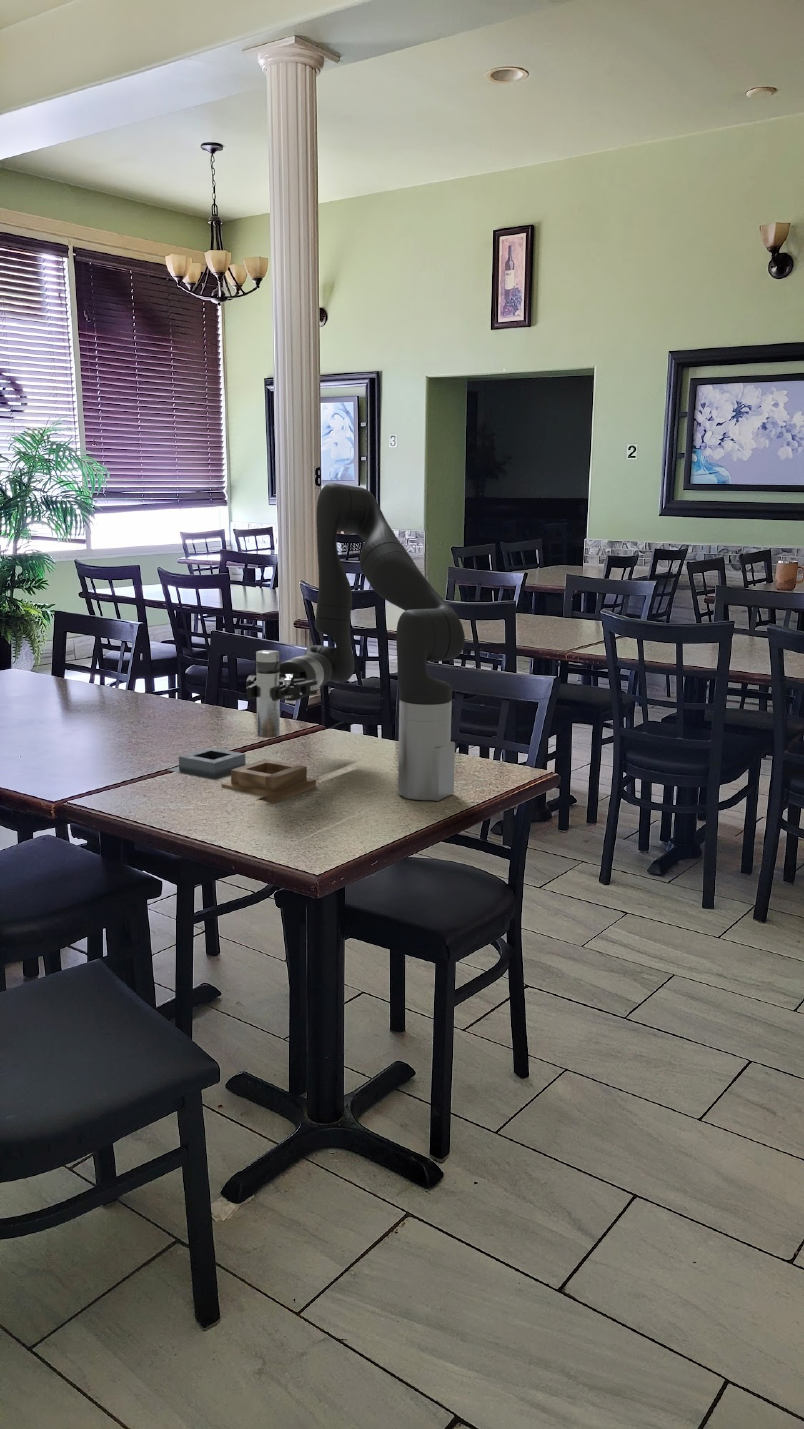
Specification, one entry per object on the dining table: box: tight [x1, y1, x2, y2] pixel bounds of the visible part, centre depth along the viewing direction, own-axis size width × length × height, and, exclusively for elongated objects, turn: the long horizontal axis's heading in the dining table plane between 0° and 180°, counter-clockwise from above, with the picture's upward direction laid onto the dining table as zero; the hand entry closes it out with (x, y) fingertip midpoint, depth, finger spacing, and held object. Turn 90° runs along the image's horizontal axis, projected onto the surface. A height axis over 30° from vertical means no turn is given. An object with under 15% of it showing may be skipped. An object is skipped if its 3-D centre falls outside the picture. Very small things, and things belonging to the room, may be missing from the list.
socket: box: [167, 747, 249, 781], centre depth 198 cm, size 12×12×4 cm
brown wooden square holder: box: [221, 758, 317, 804], centre depth 187 cm, size 12×12×4 cm
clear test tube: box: [255, 649, 281, 739], centre depth 184 cm, size 4×4×15 cm
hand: (261, 694), depth 181 cm, fingers closed on clear test tube, 4 cm apart
